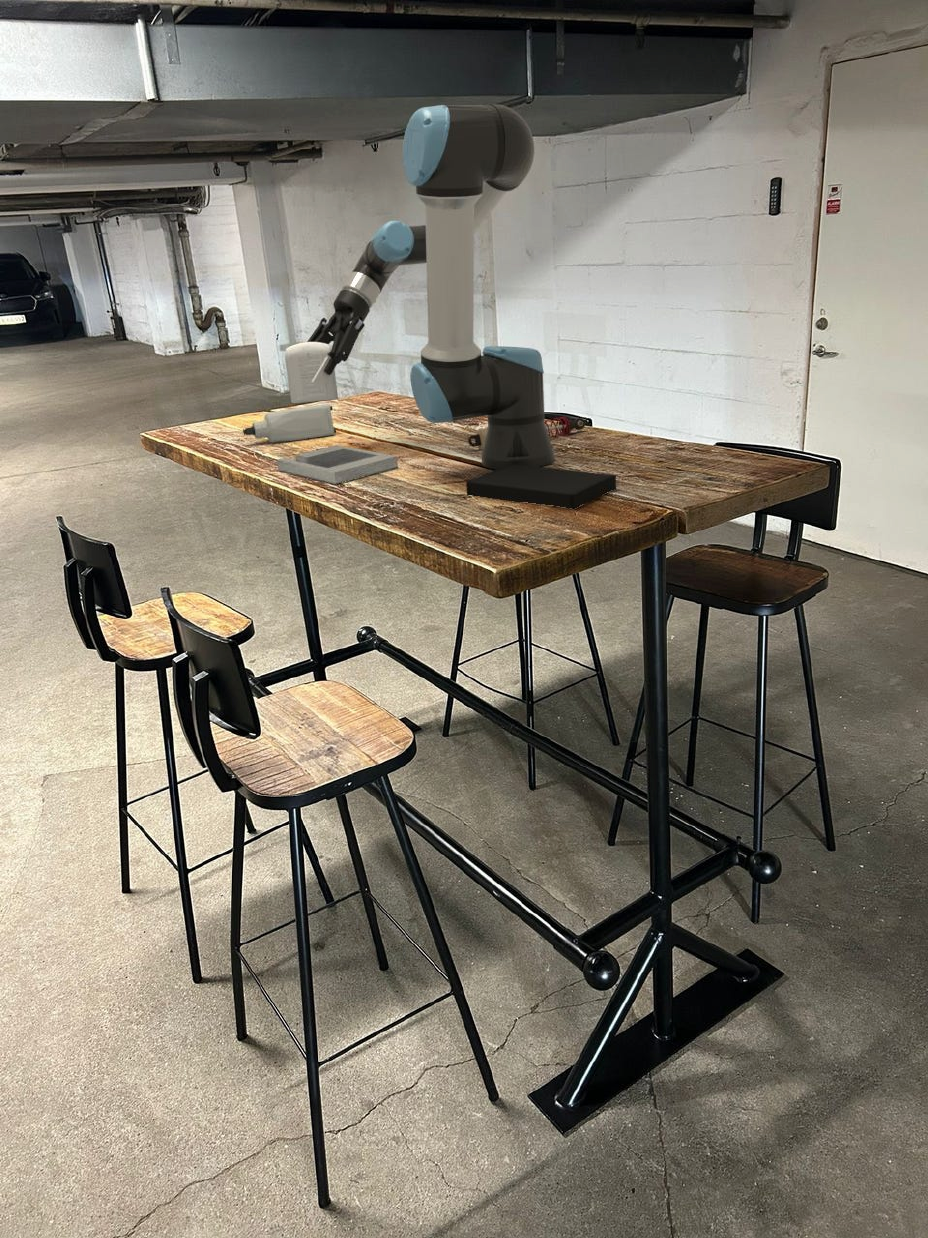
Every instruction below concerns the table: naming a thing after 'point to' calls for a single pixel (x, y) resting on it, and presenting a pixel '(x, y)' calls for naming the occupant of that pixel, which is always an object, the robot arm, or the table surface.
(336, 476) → the plate
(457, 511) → the table surface
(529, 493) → the external hard drive
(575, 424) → the shock absorber
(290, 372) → the photo printer
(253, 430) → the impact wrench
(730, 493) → the table surface
